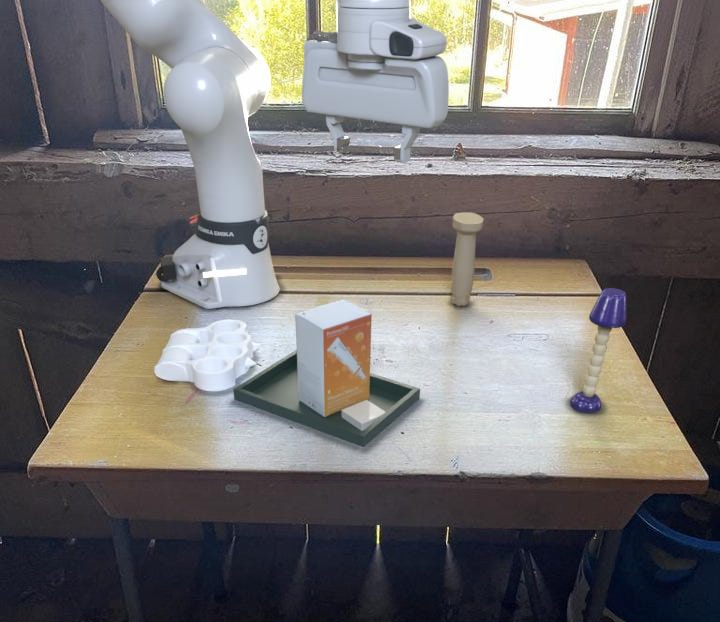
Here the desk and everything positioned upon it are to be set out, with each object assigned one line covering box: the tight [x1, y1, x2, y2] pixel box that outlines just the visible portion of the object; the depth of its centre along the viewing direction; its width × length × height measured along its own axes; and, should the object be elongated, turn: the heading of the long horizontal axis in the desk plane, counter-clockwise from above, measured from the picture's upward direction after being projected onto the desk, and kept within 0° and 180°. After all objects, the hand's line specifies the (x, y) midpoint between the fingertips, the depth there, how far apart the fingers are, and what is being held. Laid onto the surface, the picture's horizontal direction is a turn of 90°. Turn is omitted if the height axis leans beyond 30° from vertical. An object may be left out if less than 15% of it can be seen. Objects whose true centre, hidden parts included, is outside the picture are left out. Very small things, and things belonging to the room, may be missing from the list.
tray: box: [232, 349, 421, 448], centre depth 101 cm, size 22×15×2 cm
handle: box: [450, 211, 484, 307], centre depth 125 cm, size 5×6×15 cm
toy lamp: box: [569, 287, 627, 414], centre depth 97 cm, size 5×5×17 cm
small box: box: [294, 298, 372, 417], centre depth 97 cm, size 8×6×13 cm
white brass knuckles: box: [153, 318, 262, 392], centre depth 110 cm, size 3×18×15 cm
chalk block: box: [342, 400, 385, 431], centre depth 97 cm, size 4×4×1 cm
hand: (371, 156), depth 96 cm, fingers open, 8 cm apart
